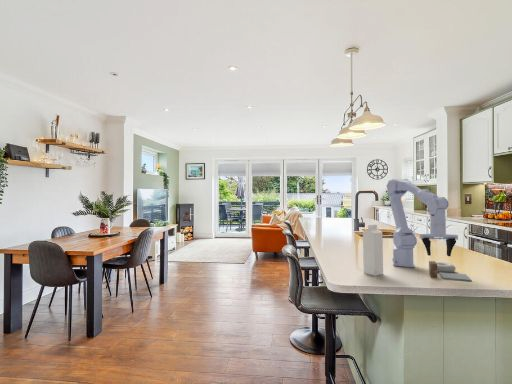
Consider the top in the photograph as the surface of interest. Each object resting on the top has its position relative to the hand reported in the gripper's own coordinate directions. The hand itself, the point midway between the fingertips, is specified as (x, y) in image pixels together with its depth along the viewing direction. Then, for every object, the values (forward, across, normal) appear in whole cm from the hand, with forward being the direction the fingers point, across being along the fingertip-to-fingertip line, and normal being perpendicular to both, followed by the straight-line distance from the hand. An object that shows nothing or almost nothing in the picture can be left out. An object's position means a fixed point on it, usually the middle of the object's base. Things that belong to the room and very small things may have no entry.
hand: (438, 255), depth 128 cm
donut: (+7, +8, +12) cm, 16 cm away
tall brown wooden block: (+9, -3, -2) cm, 9 cm away
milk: (+9, -27, -3) cm, 29 cm away
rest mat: (+9, +5, -2) cm, 10 cm away
